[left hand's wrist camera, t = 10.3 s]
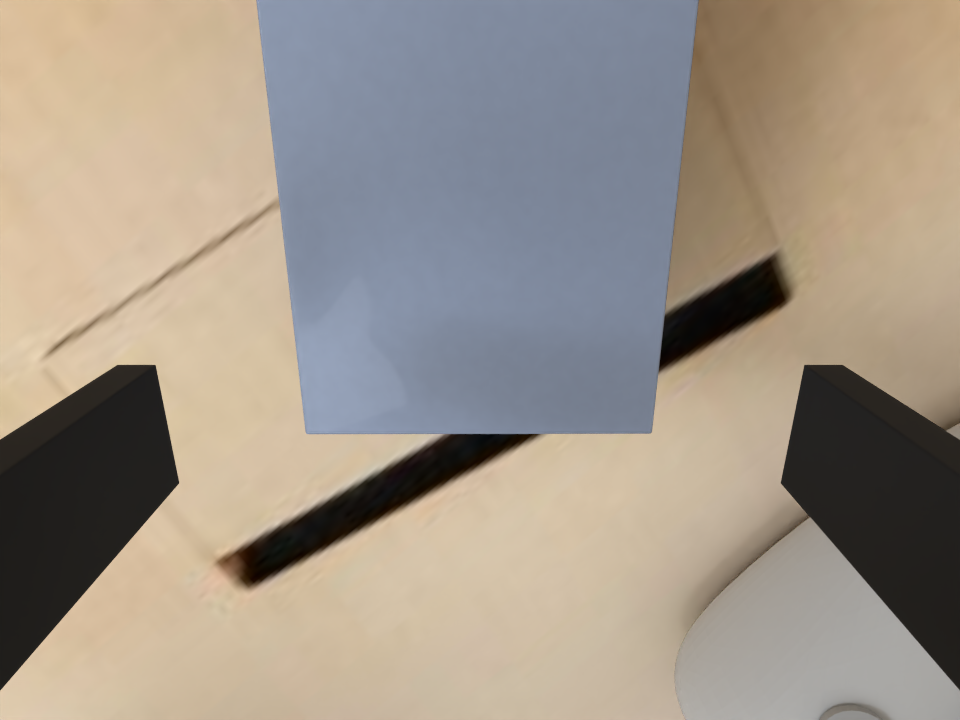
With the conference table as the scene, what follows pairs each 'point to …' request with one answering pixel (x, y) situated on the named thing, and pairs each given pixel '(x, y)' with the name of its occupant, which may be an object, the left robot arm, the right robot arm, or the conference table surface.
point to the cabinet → (478, 208)
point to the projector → (807, 645)
